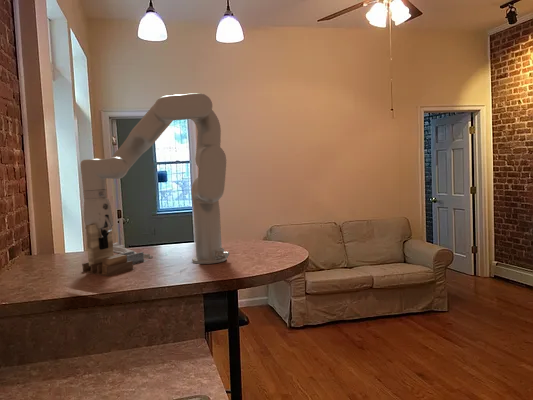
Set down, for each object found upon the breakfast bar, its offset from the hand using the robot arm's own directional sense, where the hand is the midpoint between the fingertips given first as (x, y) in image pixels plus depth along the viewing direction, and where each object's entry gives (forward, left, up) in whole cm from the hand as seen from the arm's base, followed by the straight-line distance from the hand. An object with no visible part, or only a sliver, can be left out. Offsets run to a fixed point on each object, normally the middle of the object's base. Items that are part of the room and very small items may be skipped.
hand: (100, 247), depth 159 cm
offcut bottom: (-8, 0, -7) cm, 11 cm away
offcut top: (-8, 0, -5) cm, 9 cm away
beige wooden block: (0, 0, -6) cm, 6 cm away
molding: (+20, -29, -9) cm, 36 cm away
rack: (-4, 0, -9) cm, 9 cm away
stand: (0, -11, -9) cm, 14 cm away
